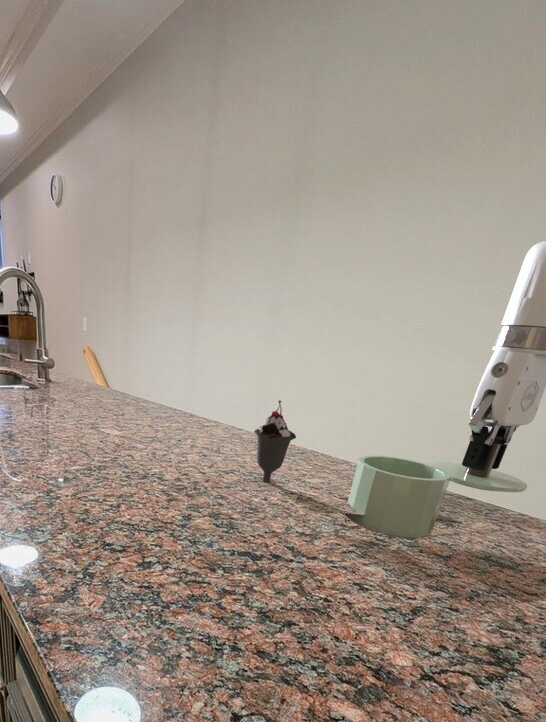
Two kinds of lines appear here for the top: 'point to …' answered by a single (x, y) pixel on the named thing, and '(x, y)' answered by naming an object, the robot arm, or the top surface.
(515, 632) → the top surface
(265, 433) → the sundae
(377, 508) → the canister
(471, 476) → the lid
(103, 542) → the top surface
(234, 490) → the top surface
